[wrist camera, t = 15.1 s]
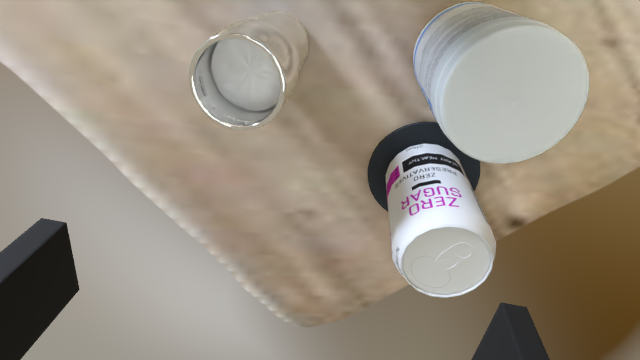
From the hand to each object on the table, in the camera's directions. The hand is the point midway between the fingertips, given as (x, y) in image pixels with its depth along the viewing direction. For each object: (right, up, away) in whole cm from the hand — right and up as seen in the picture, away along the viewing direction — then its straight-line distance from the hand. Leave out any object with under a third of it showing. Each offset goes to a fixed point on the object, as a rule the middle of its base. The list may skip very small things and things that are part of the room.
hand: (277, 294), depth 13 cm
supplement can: (+13, +4, +33) cm, 36 cm away
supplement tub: (+15, +16, +27) cm, 35 cm away
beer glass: (-3, +17, +28) cm, 33 cm away
